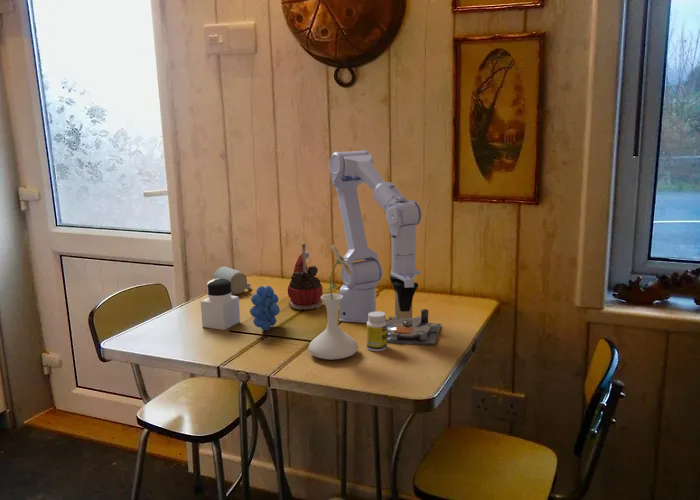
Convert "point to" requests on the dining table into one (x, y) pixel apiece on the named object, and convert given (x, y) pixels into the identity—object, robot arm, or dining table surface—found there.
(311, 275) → the cake
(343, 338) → the flower in vase
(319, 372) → the dining table surface
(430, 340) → the base plate
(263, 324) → the grapes
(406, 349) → the dining table surface
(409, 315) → the link block
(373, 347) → the supplement bottle
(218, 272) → the ceramic mug
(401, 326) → the sprocket
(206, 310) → the medicine bottle
